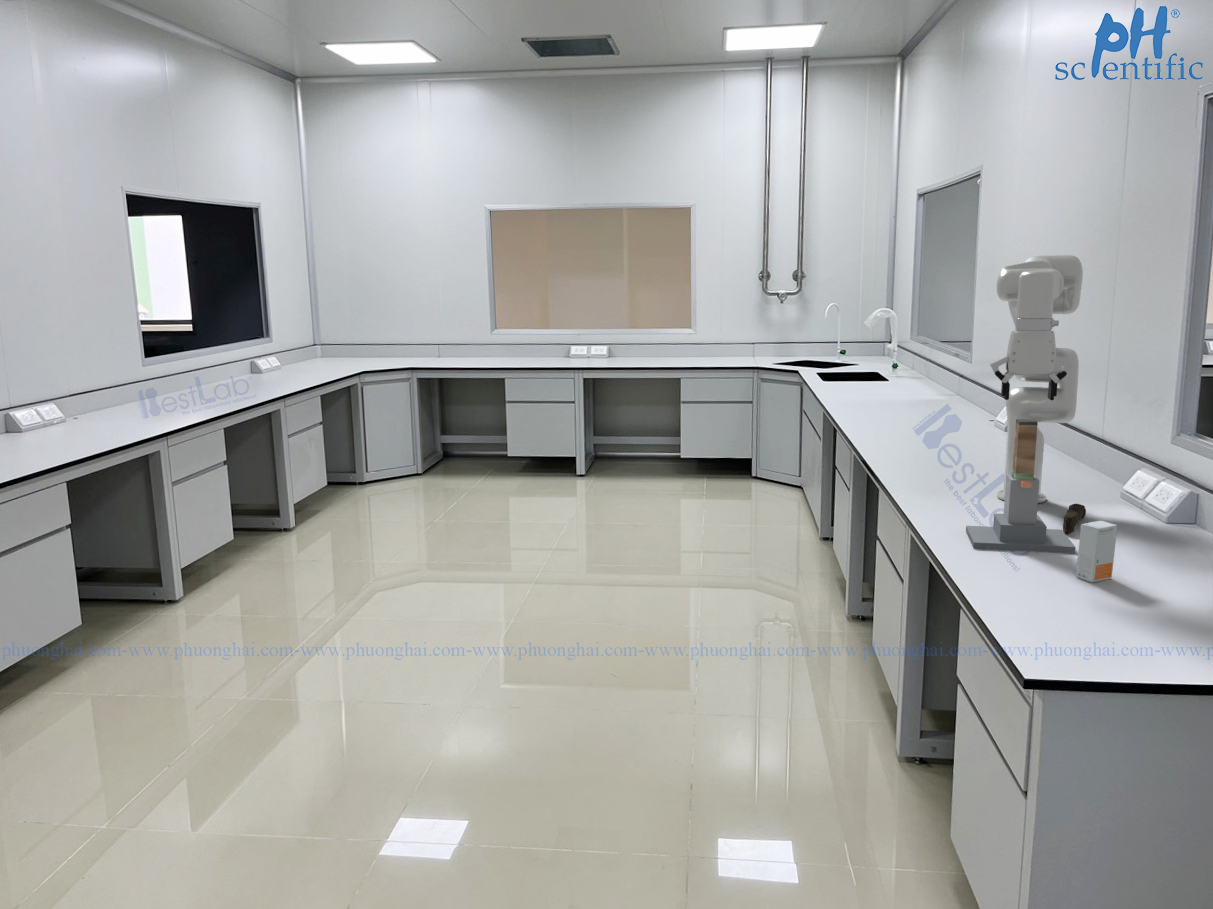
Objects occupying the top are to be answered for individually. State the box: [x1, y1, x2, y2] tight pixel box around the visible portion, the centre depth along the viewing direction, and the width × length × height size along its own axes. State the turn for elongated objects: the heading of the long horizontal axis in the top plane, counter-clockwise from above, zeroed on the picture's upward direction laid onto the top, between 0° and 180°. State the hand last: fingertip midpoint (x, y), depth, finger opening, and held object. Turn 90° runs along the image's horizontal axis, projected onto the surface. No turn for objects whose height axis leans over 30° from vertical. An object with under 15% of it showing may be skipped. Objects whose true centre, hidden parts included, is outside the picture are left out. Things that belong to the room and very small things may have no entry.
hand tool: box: [1062, 503, 1087, 536], centre depth 233 cm, size 19×4×5 cm, turn 144°
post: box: [1012, 419, 1039, 480], centre depth 217 cm, size 4×4×17 cm
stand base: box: [965, 474, 1076, 554], centre depth 220 cm, size 14×22×16 cm, turn 76°
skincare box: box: [1075, 520, 1118, 583], centre depth 195 cm, size 6×4×12 cm
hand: (1028, 399), depth 215 cm, fingers open, 9 cm apart
